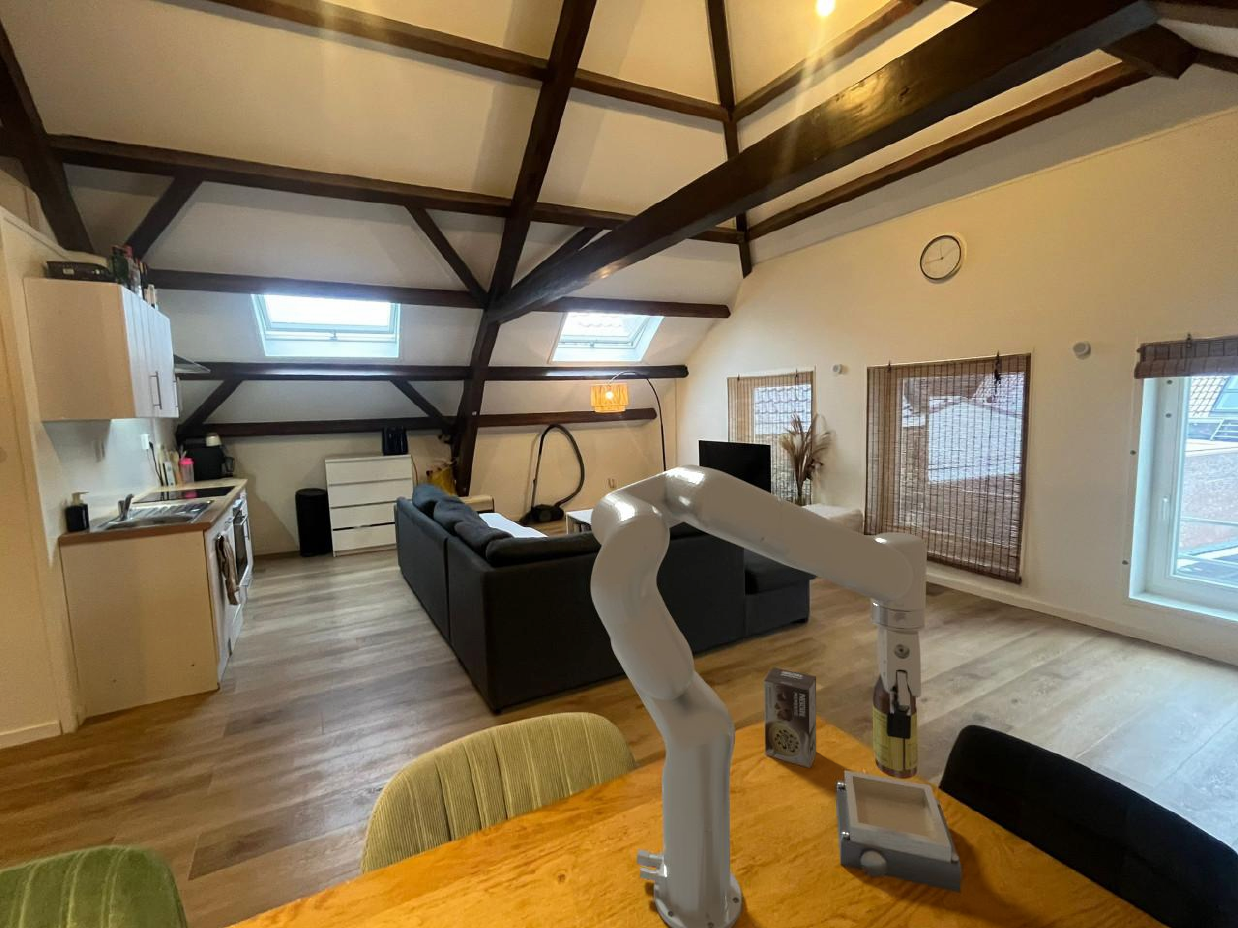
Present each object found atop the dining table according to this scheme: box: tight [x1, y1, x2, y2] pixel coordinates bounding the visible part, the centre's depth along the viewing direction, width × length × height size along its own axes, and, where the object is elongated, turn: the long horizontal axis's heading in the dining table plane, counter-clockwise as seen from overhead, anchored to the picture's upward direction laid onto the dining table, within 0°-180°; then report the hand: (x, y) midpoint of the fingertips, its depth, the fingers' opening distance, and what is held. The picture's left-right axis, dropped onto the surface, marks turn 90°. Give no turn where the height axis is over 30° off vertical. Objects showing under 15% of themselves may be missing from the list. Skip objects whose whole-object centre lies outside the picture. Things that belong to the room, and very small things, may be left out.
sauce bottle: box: [872, 649, 919, 780], centre depth 85 cm, size 7×6×20 cm
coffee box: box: [763, 667, 817, 769], centre depth 109 cm, size 9×6×16 cm
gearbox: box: [835, 770, 962, 894], centre depth 86 cm, size 16×15×6 cm
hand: (894, 722), depth 85 cm, fingers closed on sauce bottle, 6 cm apart
